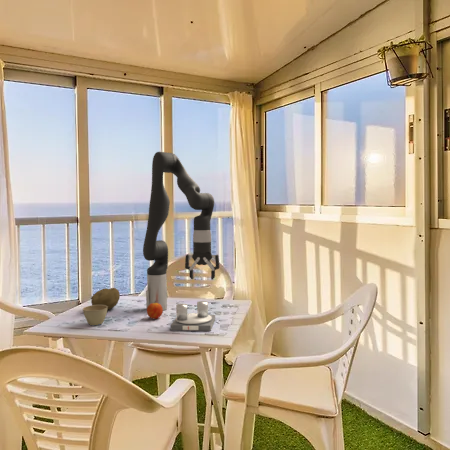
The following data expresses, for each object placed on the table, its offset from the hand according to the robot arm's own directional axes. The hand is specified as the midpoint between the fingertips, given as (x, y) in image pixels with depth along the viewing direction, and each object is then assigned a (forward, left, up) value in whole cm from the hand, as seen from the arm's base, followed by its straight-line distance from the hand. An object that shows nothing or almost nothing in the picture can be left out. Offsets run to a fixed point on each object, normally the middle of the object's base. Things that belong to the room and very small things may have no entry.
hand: (202, 279), depth 173 cm
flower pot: (-45, -4, -19) cm, 49 cm away
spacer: (0, 0, -16) cm, 16 cm away
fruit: (-22, +6, -19) cm, 30 cm away
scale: (-3, -3, -19) cm, 19 cm away
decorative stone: (-50, +20, -19) cm, 58 cm away
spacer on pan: (-8, -5, -16) cm, 18 cm away
